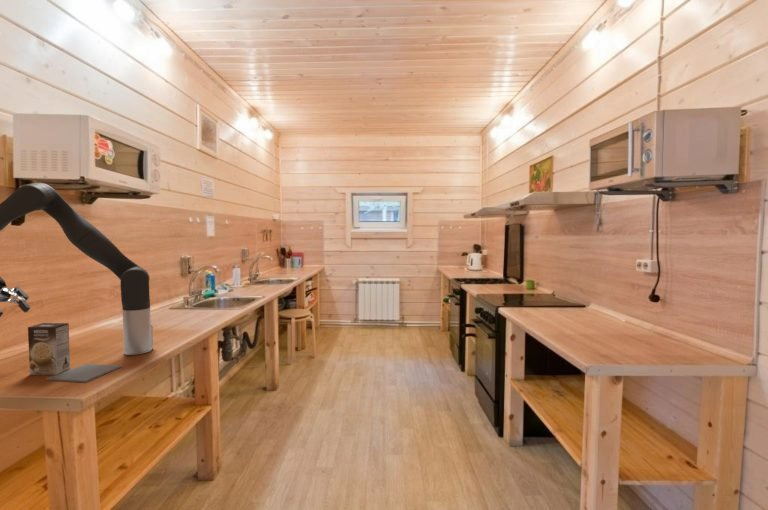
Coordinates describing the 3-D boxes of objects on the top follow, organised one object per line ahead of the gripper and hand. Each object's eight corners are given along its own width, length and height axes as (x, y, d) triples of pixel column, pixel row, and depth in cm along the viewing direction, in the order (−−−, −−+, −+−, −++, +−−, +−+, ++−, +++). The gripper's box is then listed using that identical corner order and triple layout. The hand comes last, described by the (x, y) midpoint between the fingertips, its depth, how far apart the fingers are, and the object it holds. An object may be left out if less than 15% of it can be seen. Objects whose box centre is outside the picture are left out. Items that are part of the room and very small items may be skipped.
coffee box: (28, 375, 129) (25, 327, 128) (44, 368, 135) (42, 322, 134) (56, 374, 129) (54, 326, 128) (71, 368, 136) (69, 322, 135)
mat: (86, 365, 138) (85, 363, 138) (121, 367, 136) (121, 365, 136) (46, 380, 124) (46, 378, 124) (85, 382, 122) (85, 380, 122)
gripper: (-35, 273, 126) (-3, 309, 125) (12, 269, 140) (42, 302, 139) (-48, 289, 127) (-16, 325, 126) (1, 283, 141) (29, 316, 140)
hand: (14, 313), depth 133 cm, fingers open, 8 cm apart
